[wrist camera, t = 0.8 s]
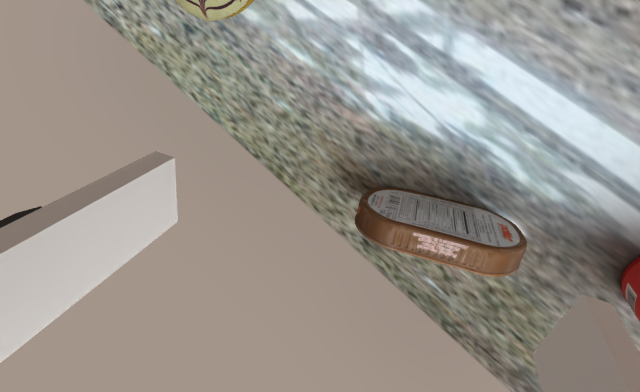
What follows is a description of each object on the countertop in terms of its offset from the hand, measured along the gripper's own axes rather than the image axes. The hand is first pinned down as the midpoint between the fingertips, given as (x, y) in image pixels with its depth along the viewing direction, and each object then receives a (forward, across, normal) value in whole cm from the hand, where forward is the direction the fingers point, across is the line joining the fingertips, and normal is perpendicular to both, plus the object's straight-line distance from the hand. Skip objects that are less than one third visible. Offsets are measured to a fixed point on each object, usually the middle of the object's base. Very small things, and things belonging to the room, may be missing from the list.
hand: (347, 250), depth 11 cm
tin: (+24, +6, -10) cm, 27 cm away
